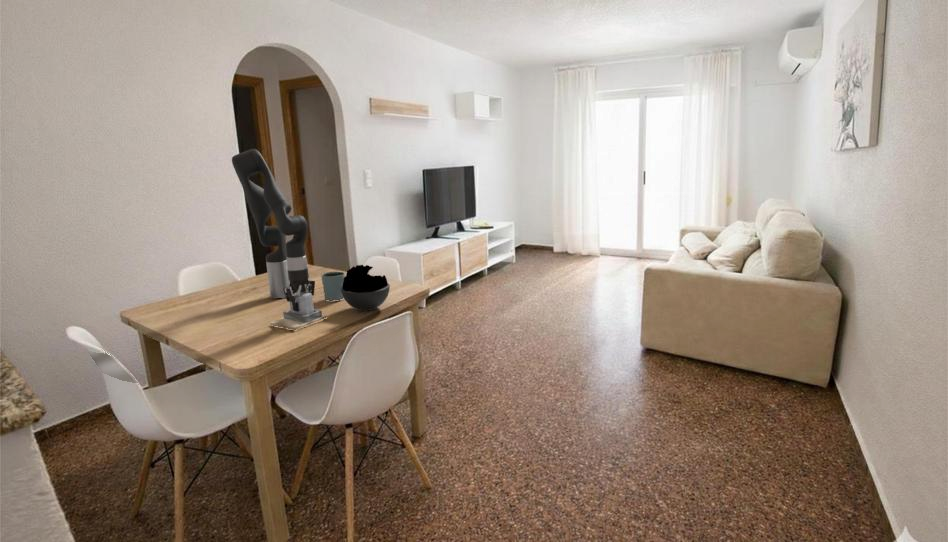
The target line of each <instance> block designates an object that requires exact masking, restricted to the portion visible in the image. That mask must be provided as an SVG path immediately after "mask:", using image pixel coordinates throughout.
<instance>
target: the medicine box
mask: <svg viewBox="0 0 948 542" xmlns="http://www.w3.org/2000/svg"><path fill="white" fill-rule="evenodd" d="M295 294H297V293H295ZM298 306H299V311H298V312H296V311H294V310H293V306H292V302H289V307H290V308H289V310H291V313H296V314H301V315H308V314H310V313H313V312H314V309H315V308H314V300H313V296H312V294H311V293H300V296H299V297H298Z"/></svg>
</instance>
